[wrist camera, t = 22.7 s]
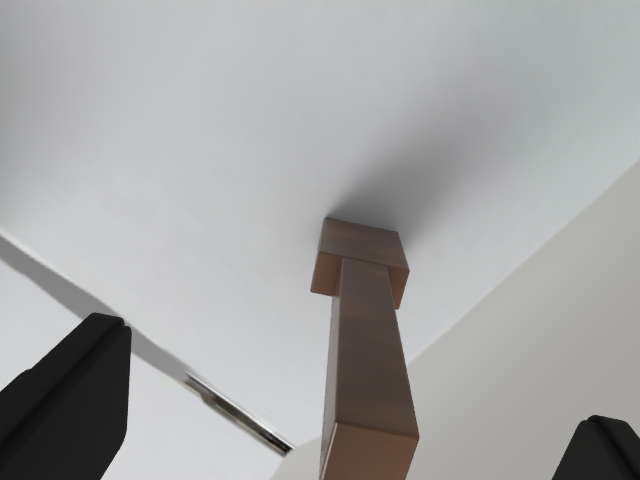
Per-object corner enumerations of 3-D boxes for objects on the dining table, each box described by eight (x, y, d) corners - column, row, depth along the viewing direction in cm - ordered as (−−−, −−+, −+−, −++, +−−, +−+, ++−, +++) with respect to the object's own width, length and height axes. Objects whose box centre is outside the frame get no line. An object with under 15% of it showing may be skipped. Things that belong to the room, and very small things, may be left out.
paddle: (398, 232, 25) (464, 446, 11) (389, 266, 25) (439, 510, 11) (324, 216, 25) (291, 411, 11) (317, 251, 25) (276, 477, 11)
